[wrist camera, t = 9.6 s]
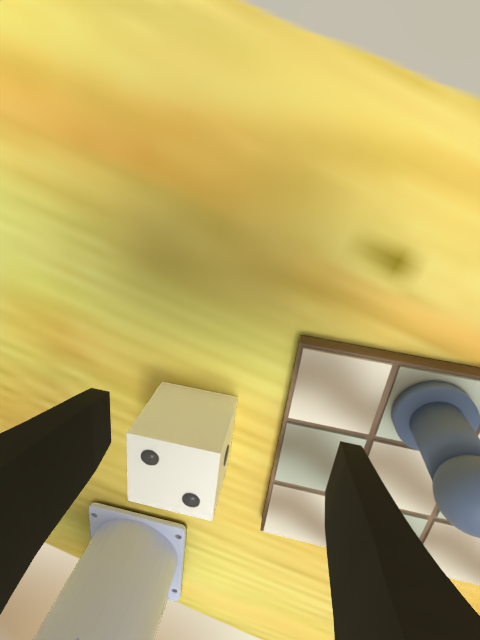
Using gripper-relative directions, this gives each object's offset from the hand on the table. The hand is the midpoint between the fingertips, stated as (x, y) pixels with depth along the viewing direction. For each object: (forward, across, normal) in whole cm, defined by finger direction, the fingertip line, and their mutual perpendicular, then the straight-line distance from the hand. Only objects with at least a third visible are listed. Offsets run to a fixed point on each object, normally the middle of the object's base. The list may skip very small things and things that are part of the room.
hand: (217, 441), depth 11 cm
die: (+10, +3, +8) cm, 13 cm away
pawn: (+9, -10, +3) cm, 14 cm away
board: (+10, -10, +8) cm, 16 cm away
